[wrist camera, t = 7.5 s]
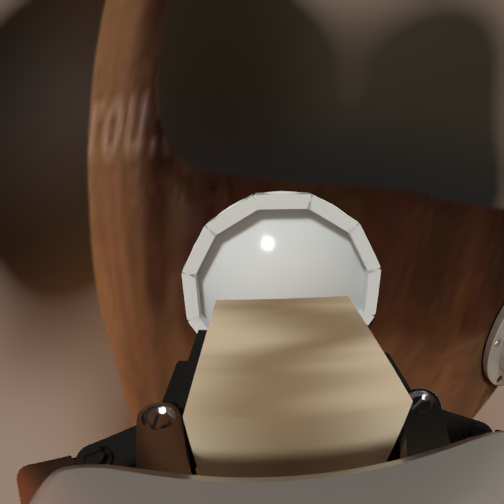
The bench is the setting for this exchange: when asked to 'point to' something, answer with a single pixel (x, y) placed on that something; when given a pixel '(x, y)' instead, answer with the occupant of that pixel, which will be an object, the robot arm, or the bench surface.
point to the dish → (280, 256)
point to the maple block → (292, 391)
